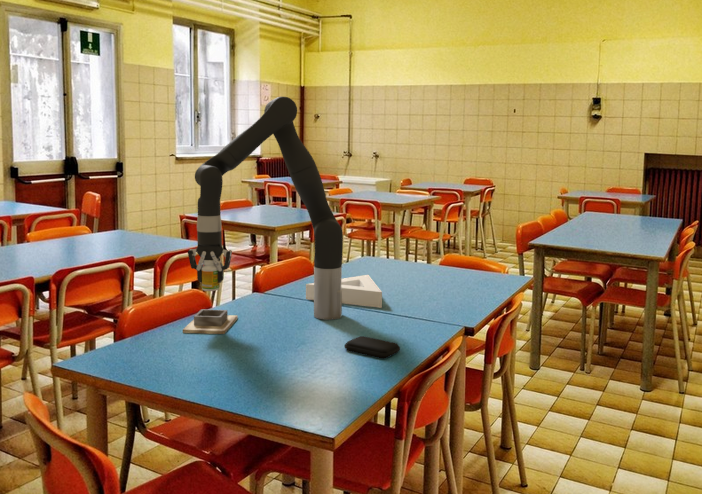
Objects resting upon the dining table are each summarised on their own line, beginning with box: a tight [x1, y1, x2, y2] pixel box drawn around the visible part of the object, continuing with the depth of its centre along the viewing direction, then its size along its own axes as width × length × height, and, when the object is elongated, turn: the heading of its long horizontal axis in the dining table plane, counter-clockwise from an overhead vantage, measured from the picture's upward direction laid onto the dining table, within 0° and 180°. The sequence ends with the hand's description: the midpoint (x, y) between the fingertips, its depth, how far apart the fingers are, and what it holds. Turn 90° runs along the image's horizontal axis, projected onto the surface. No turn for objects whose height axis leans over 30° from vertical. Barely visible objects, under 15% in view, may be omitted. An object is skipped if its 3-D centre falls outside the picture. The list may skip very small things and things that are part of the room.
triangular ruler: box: [305, 274, 383, 309], centre depth 264 cm, size 30×26×6 cm
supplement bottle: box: [201, 260, 220, 292], centre depth 219 cm, size 5×5×10 cm
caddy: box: [182, 308, 238, 335], centre depth 222 cm, size 13×18×4 cm
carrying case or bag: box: [344, 336, 401, 360], centre depth 199 cm, size 11×3×15 cm
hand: (210, 281), depth 220 cm, fingers closed on supplement bottle, 5 cm apart
